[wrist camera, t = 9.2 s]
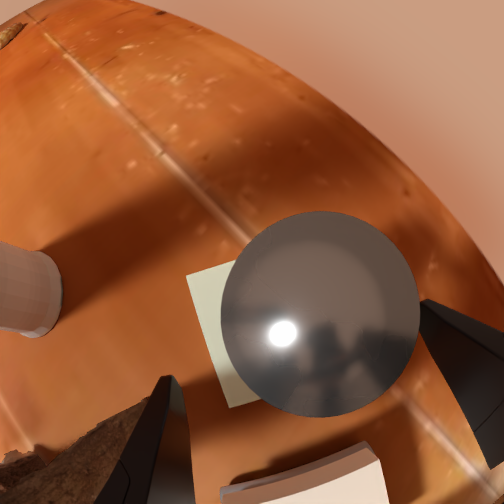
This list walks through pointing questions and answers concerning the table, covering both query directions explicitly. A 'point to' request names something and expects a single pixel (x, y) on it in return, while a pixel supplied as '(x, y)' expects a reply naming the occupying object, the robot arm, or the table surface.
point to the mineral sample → (69, 466)
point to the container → (28, 291)
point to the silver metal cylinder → (320, 314)
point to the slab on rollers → (318, 482)
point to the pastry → (9, 34)
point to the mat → (217, 330)
